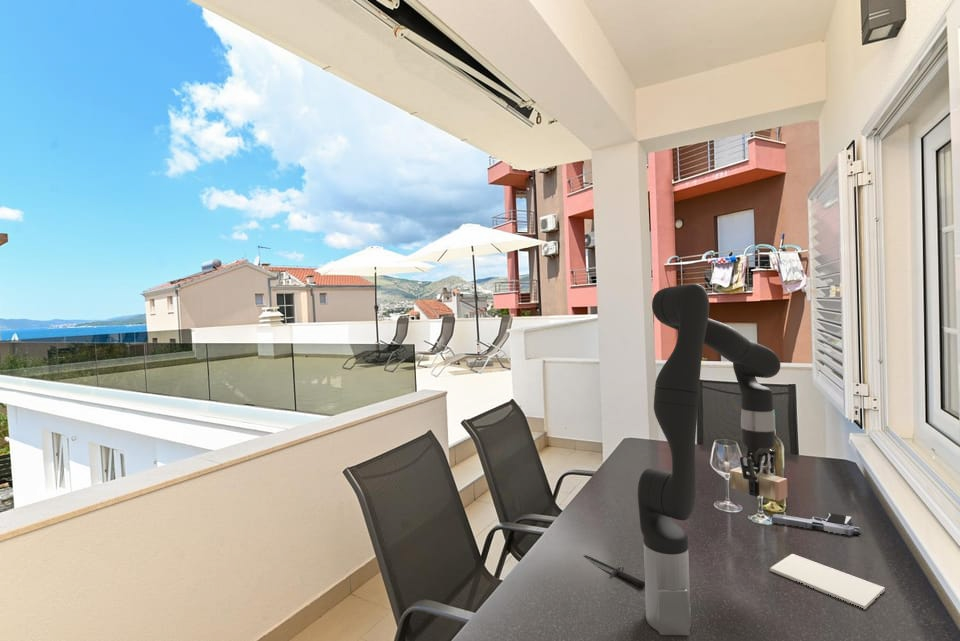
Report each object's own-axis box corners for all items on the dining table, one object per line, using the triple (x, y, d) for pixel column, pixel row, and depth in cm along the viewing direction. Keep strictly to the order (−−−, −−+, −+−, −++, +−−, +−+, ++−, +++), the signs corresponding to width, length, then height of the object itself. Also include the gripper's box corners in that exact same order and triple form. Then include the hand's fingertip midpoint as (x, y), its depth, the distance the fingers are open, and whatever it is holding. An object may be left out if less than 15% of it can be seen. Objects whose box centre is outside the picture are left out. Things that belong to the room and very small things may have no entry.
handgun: (771, 503, 160) (771, 516, 149) (856, 516, 148) (862, 531, 138) (772, 510, 160) (772, 524, 149) (856, 523, 148) (862, 539, 138)
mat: (884, 590, 112) (884, 587, 112) (864, 609, 106) (864, 606, 106) (792, 556, 129) (792, 553, 129) (770, 570, 123) (770, 567, 123)
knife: (565, 551, 136) (577, 544, 139) (566, 557, 136) (578, 550, 139) (637, 585, 116) (649, 576, 118) (638, 593, 116) (650, 583, 118)
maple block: (738, 483, 128) (787, 497, 118) (729, 487, 126) (778, 501, 116) (738, 467, 128) (787, 478, 118) (729, 470, 126) (778, 482, 116)
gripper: (759, 434, 115) (760, 504, 115) (786, 425, 123) (788, 491, 122) (728, 428, 121) (730, 495, 121) (756, 420, 129) (758, 483, 129)
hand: (759, 493), depth 122 cm, fingers closed on maple block, 4 cm apart
